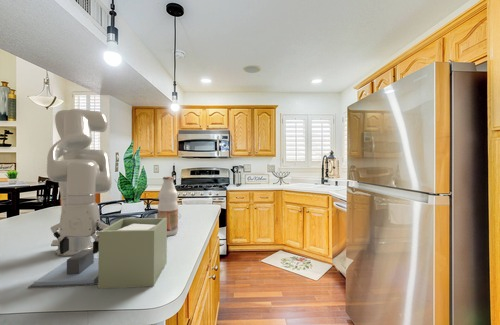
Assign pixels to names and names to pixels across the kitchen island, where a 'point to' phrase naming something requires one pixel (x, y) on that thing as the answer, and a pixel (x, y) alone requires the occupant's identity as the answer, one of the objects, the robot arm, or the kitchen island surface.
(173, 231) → the fruit juice
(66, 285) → the mat
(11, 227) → the kitchen island surface
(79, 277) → the lid
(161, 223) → the storage box
